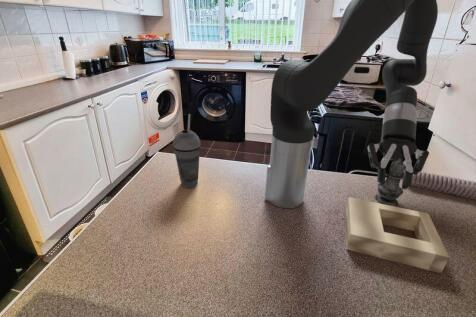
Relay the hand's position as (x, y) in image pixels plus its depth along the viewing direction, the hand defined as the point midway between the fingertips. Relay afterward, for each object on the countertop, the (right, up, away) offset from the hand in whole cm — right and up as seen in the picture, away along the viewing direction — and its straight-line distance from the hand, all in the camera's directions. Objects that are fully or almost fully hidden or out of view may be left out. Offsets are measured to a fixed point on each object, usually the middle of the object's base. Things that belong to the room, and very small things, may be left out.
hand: (393, 186), depth 63 cm
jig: (-7, -10, -9) cm, 15 cm away
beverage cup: (-52, 0, +9) cm, 52 cm away
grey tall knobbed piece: (0, -4, +4) cm, 6 cm away
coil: (+18, -2, +9) cm, 20 cm away
